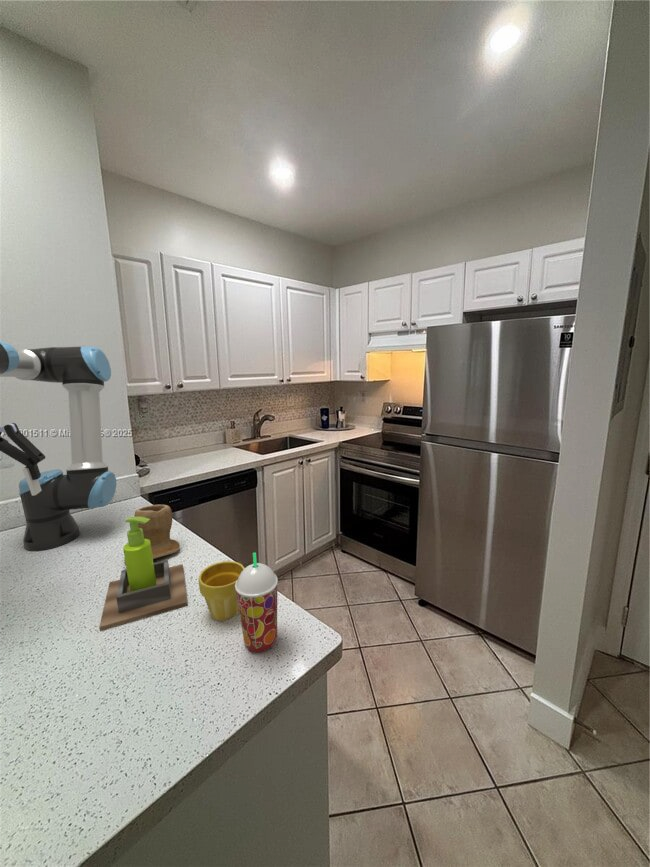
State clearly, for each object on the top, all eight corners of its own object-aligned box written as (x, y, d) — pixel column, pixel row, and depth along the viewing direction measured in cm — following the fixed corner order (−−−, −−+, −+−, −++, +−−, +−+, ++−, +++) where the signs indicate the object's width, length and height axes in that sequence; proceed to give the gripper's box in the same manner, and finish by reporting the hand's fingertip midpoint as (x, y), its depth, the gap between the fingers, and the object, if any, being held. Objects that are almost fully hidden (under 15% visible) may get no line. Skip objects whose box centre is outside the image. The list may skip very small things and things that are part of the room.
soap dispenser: (150, 601, 85) (138, 524, 81) (125, 598, 86) (112, 522, 82) (165, 586, 90) (155, 513, 86) (142, 583, 92) (131, 512, 88)
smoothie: (243, 628, 76) (236, 544, 72) (282, 625, 77) (276, 541, 73) (237, 660, 68) (228, 567, 64) (280, 656, 69) (274, 563, 65)
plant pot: (256, 600, 85) (253, 564, 83) (232, 631, 76) (228, 590, 74) (220, 592, 89) (216, 557, 87) (192, 621, 79) (187, 582, 77)
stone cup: (175, 539, 117) (170, 496, 114) (182, 555, 107) (176, 509, 104) (123, 553, 109) (116, 508, 106) (125, 572, 99) (117, 522, 96)
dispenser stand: (110, 585, 93) (107, 568, 92) (183, 567, 100) (181, 551, 99) (99, 631, 77) (96, 610, 76) (187, 605, 84) (185, 586, 83)
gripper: (-126, 419, 67) (-80, 519, 72) (26, 400, 72) (57, 494, 78) (-92, 412, 74) (-53, 504, 79) (43, 395, 80) (71, 482, 85)
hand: (2, 499), depth 79 cm, fingers open, 13 cm apart
